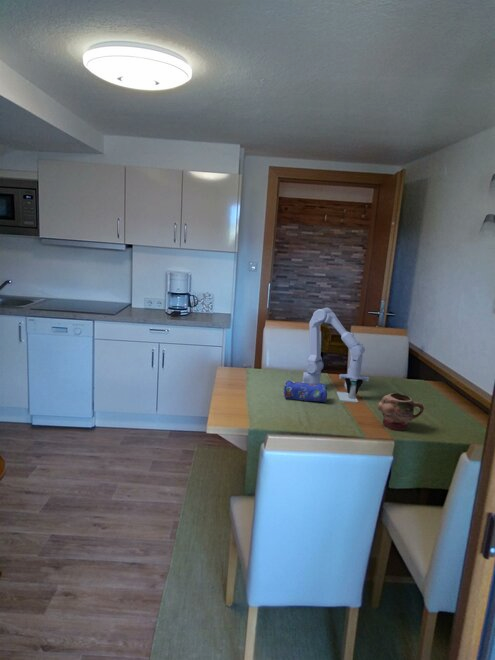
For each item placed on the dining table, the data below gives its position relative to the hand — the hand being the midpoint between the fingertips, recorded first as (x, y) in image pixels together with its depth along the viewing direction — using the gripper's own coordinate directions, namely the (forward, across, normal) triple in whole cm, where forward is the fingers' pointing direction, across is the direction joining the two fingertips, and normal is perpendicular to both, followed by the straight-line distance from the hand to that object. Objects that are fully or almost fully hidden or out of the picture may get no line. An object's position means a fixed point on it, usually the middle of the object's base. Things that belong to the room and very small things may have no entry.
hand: (352, 393), depth 224 cm
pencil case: (+3, -25, -7) cm, 26 cm away
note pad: (+3, -2, +1) cm, 4 cm away
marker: (+2, 0, 0) cm, 2 cm away
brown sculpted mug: (+3, +15, -31) cm, 35 cm away
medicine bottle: (+3, +3, +17) cm, 17 cm away
